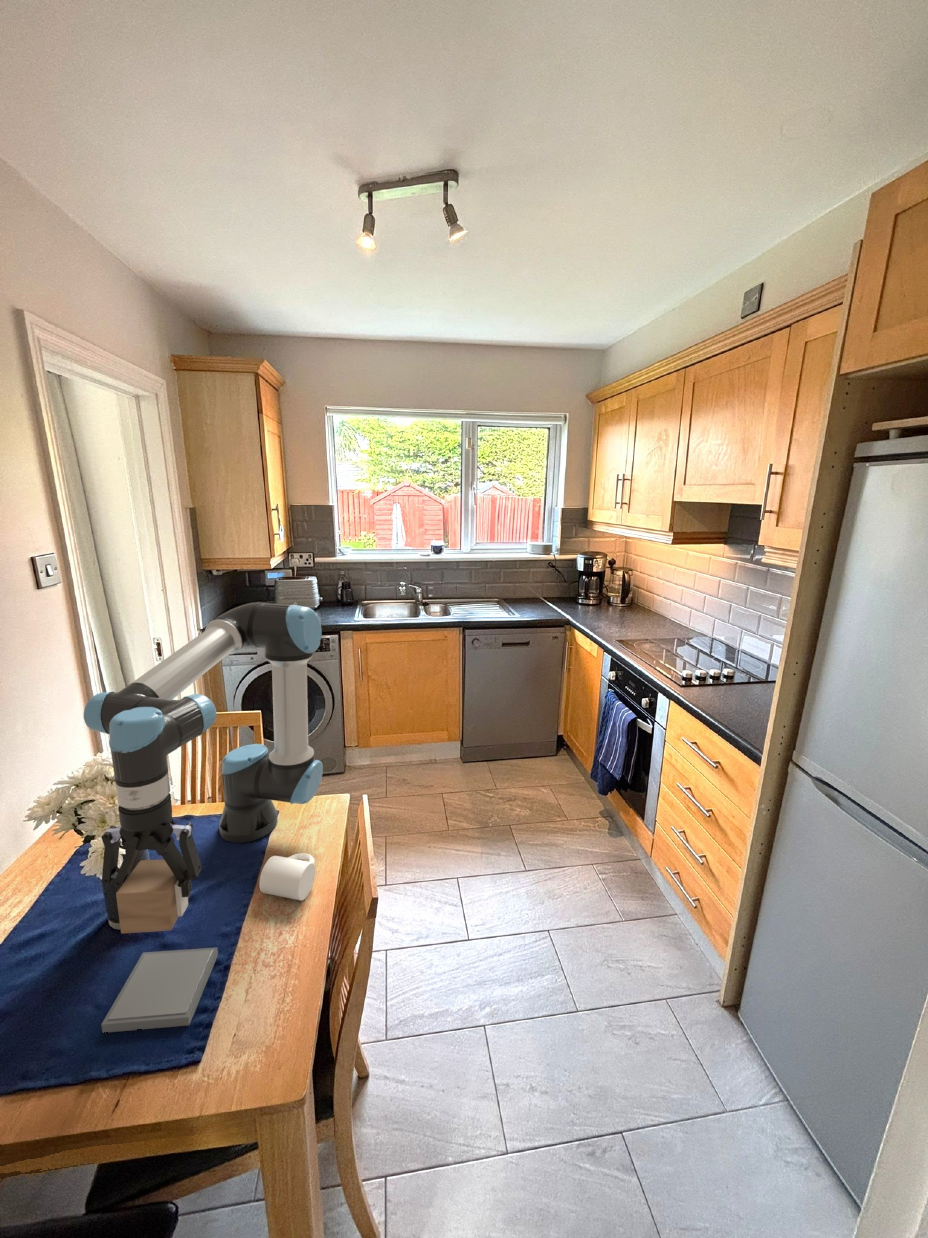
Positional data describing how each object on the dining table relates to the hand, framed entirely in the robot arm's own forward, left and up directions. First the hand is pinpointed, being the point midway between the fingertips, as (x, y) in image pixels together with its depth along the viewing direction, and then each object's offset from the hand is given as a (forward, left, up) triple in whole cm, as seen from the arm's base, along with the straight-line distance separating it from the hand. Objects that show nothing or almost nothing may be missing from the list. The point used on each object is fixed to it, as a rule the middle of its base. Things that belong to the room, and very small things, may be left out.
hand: (157, 912), depth 88 cm
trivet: (0, 0, -17) cm, 17 cm away
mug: (-25, +18, -18) cm, 36 cm away
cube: (0, 0, 0) cm, 0 cm away
